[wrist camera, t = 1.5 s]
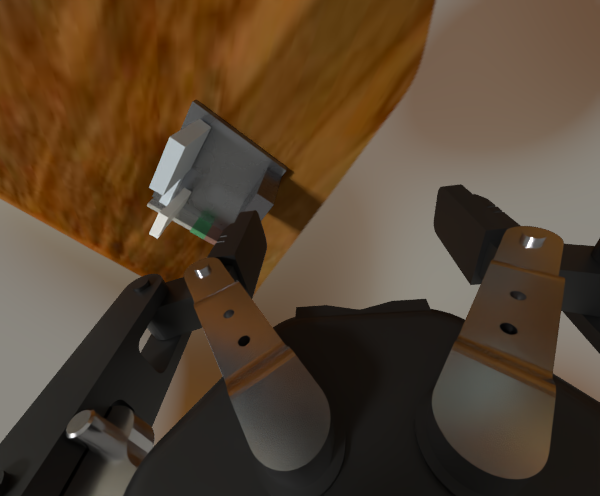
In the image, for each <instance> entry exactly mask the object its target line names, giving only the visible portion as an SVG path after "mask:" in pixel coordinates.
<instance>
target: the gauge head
mask: <svg viewBox="0 0 600 496" xmlns="http://www.w3.org/2000/svg"><path fill="white" fill-rule="evenodd" d="M210 129H211V127H210V126H209V125H208V124H206V123H205V122H203V121H202V120H201V119H198V120H196V121H195V122H193V123H191V124H190V125H188V126H187V127H185V128H183V129H182V130H180V131H178V132H177V133H175V134H174V135H172V136H170V137H169V140H168V142H167V145H166V147H165V150H164V152H163V155H162V157H161V160H160V162H159V165H158V167H157V170H156V172H155V174H154V177H153V179H152V182H151V184H150V187H149V188H151V189H152V190H154V191H156V192H158V193H159V194H161V195H162V197H161V199H160V201H159V202H160V203H162V204H163V205H165V206H167V205H168V204H169V203H170V202H171V201H172V200H173V199H174V197H175V194H176V192H177V190H178V188H179V186H180V184H181V182H182V180H183V178H184V176H185V174H186V173H187V172H188V171H189V170H190V169H191V167H192V165H193V163H194V161H195V159H196V157H197V155H198V153H199V151H200V149H201V147H202V145H203V143H204V141H205V139H206V137H207V135H208V133H209V131H210Z"/></svg>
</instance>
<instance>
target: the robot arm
mask: <svg viewBox="0 0 600 496" xmlns="http://www.w3.org/2000/svg"><path fill="white" fill-rule="evenodd" d="M434 229H435V232H436V234H437V236H438V237H439V239H440V240H441V242H442V243H443V245H444V246H445V248H446V249H447V251H448V252H449V254H450V255H451V257H452V258H453V260H454V261H455V262H456V264H457V265H458V267H459V268H460V270H461V271H462V273H463V274H464V276H465V277H466V279H467V280H468V282H469V283H470V285H475V284H481V285H480V288H479V290H478V292H477V295H476V297H475V299H474V301H473V304H472V306H471V308H470V311H469V313H468V315H467V317H466V320H464V319H462V318H460V317H457V316H455V315H453V314H450V313H446V312H443V311H438V310H434V309H430V307H429V305H428V303H427V300H426V299H417V300H401V301H391V302H387V303H383V304H380V305H376V306H372V307H369V308H366V309H361V310H356V309H349V308H342V307H335V306H327V305H324V306H309V307H296V316H295V317H293V318H290V319H288V320H285V321H283V322H281V323H279V324H278V325H276V326H275V327H273V328H272V326H271V325H270V324H269V322H268V321H267V319H266V318H265V317H264V315H263V314H262V312H261V311H260V310H259V308H258V307H257V306H256V304H255V303H254V302H253V300H252V298H253V294H254V291H255V287H256V284H257V281H258V277H259V274H260V270H261V267H262V264H263V260H264V257H265V253H266V250H267V242H266V237H265V234H264V230H263V227H262V224H261V220H260V217H259V214H258V212H257V211H256V210H253V211H245V212H240V213H239V215H238V217H237V219H236V221H235V222H234V223H231V224H230V225H229V226H227V227H226V228H225V229H224V230H223V232H222V233H221V235H220V237H219V238H218V240H217V243H216V244H215V245H214V247H213V249H212V250H211V252H210V254H209V255H208V257H207V258H204V259H201V260H198V261H196V262H195V263H193V264H191V265H190V266H189V267H188V268H187V269H186V270H185V272H184V277H183V278H179V279H176V280H173V281H170V282H166V283H165V282H164V280H163V279H162V277H161V276H160V275H158V274H149V275H145V276H143V277H140V278H138V279H136V280H135V281H133V282H132V283H130V284H129V285H128V286H127V287H126V288H125V289H124V290H123V292H122V293H121V294H120V295H119V297H118V298H117V299H116V300H115V301H114V303H113V304H112V305H111V306H110V308H109V309H108V310H107V311H106V313H105V314H104V315H103V316H102V318H101V319H100V320H99V321H98V323H97V324H96V325H95V326H94V328H93V329H92V330H91V332H90V333H89V334H88V335H87V336H86V338H85V339H84V340H83V341H82V343H81V344H80V345H79V346H78V348H77V349H76V350H75V351H74V353H73V354H72V355H71V356H70V358H69V359H68V360H67V361H66V362H65V364H64V365H63V366H62V367H61V369H60V370H59V371H58V372H57V374H56V375H55V376H54V377H53V379H52V380H51V381H50V382H49V384H48V385H47V386H46V387H45V389H44V390H43V391H42V392H41V394H40V395H39V396H38V397H37V399H36V400H35V401H34V402H33V404H32V405H31V406H30V407H29V409H28V410H27V411H26V412H25V413H24V415H23V416H22V417H21V418H20V420H19V421H18V422H17V423H16V425H15V426H14V427H13V428H12V430H11V431H10V432H9V433H8V435H7V436H6V437H5V438H4V440H3V441H2V442H1V443H0V496H600V402H598V401H596V400H595V399H593V398H592V397H590V396H589V395H587V394H585V393H584V392H582V391H580V390H579V389H577V388H576V387H574V386H572V385H571V384H569V383H567V382H566V381H564V380H563V379H561V378H559V377H558V376H556V375H554V374H553V367H554V360H555V352H556V345H557V337H558V330H559V322H560V314H561V311H563V312H564V313H565V315H566V316H567V317H568V318H569V319H570V320H571V322H572V323H573V324H574V325H575V326H576V327H577V328H578V330H579V331H580V332H581V333H582V334H583V335H584V336H585V338H586V339H587V340H588V341H589V342H590V343H591V344H592V345H593V347H594V348H595V349H596V350H597V351H598V352H599V353H600V239H599V240H598V242H597V244H596V245H595V246H586V245H572V244H564V242H563V239H562V238H561V237H560V236H558V235H557V234H555V233H553V232H551V231H549V230H546V229H542V228H538V227H532V226H520V225H519V224H518V223H516V222H515V221H514V220H513V219H511V218H510V217H509V216H508V215H507V214H505V213H504V212H502V210H500V209H499V208H498V207H495V205H494V204H493V203H492V202H491V201H489V200H488V199H486V198H484V197H481V196H479V195H476V194H472V193H471V192H469V191H468V190H467V189H466V188H465V187H464V186H463V185H453V186H445V187H440V189H439V190H438V195H437V202H436V209H435V216H434ZM146 328H148V329H149V331H150V332H151V333H152V334H151V336H150V337H149V339H148V341H147V343H146V344H145V346H144V348H143V350H142V352H141V353H140V351H139V341H140V338H141V337H142V335H143V333H144V331H145V330H146ZM200 328H203V330H204V332H205V334H206V337H207V339H208V342H209V344H210V346H211V349H212V351H213V354H214V356H215V359H216V361H217V363H218V366H219V368H220V371H221V373H222V376H223V377H222V378H221V379H220V380H219V381H218V382H217V383H216V384H215V385H214V386H213V387H212V388H211V389H210V390H209V391H208V392H207V393H206V394H205V395H204V396H203V397H202V398H201V399H200V400H199V401H198V402H197V403H196V404H195V405H194V406H193V407H192V408H191V409H190V410H189V411H188V413H186V414H185V415H184V416H183V417H182V418H181V419H180V420H179V421H178V423H177V424H176V425H175V426H174V427H172V429H171V430H170V431H169V432H168V433H167V434H166V435H165V436H164V437H163V438H162V439H161V440H160V441H159V442H158V443H157V444H156V445H155V446H154V447H153V445H154V431H153V428H152V425H153V423H154V421H155V418H156V416H157V413H158V411H159V409H160V406H161V404H162V402H163V399H164V397H165V394H166V392H167V390H168V387H169V385H170V383H171V380H172V378H173V375H174V373H175V371H176V368H177V366H178V364H179V361H180V359H181V356H182V354H183V352H184V349H185V347H186V344H187V342H188V339H189V337H190V335H191V332H192V331H193V330H197V329H200Z"/></svg>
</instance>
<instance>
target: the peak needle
mask: <svg viewBox="0 0 600 496" xmlns="http://www.w3.org/2000/svg"><path fill="white" fill-rule="evenodd" d="M190 194H191V191H189V190H188V189H186V188H183V189H182V191H181V192H180V193H179V194H178V195H177V196H176V197H175V198H174V199H173V200H172V201H171V202H170V203H169V204H168V205H167V206H166V207H165V208H163V209H162V210H161V211H160V212H159V214H158V216H157V218H156V220H155V222H154V224H153V226H152V229H151V231H150V233H149V234H150V235H152V236H154V237H156V238H157V239H158V238H159V236H160V235H161V234H162V232H163V230H164V229H165V228H166V227H167V226H168V224H169V223H170V222H171V221H172V220H173V218H174V217H175V216H176V215H177V214H178V213H179V211H180V210H181V209H182V208H183V207H184V205H185V204H186V202H187V200H188V198H189V196H190Z"/></svg>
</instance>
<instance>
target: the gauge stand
mask: <svg viewBox="0 0 600 496" xmlns="http://www.w3.org/2000/svg"><path fill="white" fill-rule="evenodd" d="M198 119H201V120H202V121H203V122H205V123H206V124H208V125H209V126H210V127H211V129H210V131H209V133H208V135H207V137H206V139H205V141H204V143H203V145H202V147H201V149H200V151H199V153H198V155H197V157H196V159H195V161H194V163H193V165H192V167H191V169H190V170H189V171H188V172H187V173H186V174H185V176H184V178H183V180H182V182H181V184H180V186H179V188H178V190H177V192H176V194H175V197H176V196H177V195H178V194H179V193H180V192H181V191H182V189H183V188H186V189H188V190H189V191H191V194H190V196H189V198H188V200H187V202H186V204H185V205H184V207H183V208H182V209H181V210H180V211H179V213H178V214H177V215H176V216H175V217H174V218H173V221H174V222H176V223H178V224H180V225H182V226H183V227H185V228H187V229H189V230H190V232H191V233H193V234H195V235H197V236H199V237H200V238H202V239H204V240H206V241H208V242H209V243H211V244H213V245H215V244H216V243H217V240H218V238H219V237H220V235H221V233H222V232H223V230H224V229H225V228H226V227H227V226H229V225H230V224H231V223H234V222H235V221H236V219H237V217H238V215H239V213H240V212H245V211H253V210H256V211H257V212H258V214H259V217H260V220H262V219H263V218H264V216H265V215H266V214H267V213H268V211H269V210H270V209H271V207H272V206H273V205H274V202H275V198H276V195H277V191H278V188H279V184H280V181H281V177H282V176H283V174H284V173H285V172H286V170H287V167H286V166H285V165H283V164H282V163H280V162H279V161H278V160H276V159H275V158H274V157H272V156H271V155H270V154H268V153H267V152H266V151H264V150H263V149H262V148H260V147H259V146H258V145H256V144H255V143H254V142H252V141H251V140H250V139H248V138H247V137H246V136H244V135H243V134H242V133H240V132H239V131H238V130H236V129H235V128H234V127H232V126H231V125H230V124H228V123H227V122H226V121H224V120H223V119H222V118H220V117H219V116H218V115H216V114H215V113H214V112H212V111H211V110H209V109H208V108H207V107H205V106H204V105H203V104H201V103H200V102H199V101H197V100H194V101H193V102H192V104H191V107H190V109H189V111H188V114H187V116H186V118H185V121H184V123H183V125H182V128H181V130H182V129H183V128H185V127H187V126H188V125H190V124H191V123H193V122H195V121H196V120H198ZM152 197H154V198H153V199H152V200H151V201H150V202H149V203H148V205H147V207H149V208H151V209H153V210H155V211H156V212H158V213H159V212H160V211H161V210H162V209H163V208H165V207H166V206H165V205H163V204H162V203H160V202H159V201H160V199H161V197H162V195H161V194H159V193H158V192H156V191H154V194H153V196H152ZM175 197H174V198H175Z"/></svg>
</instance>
